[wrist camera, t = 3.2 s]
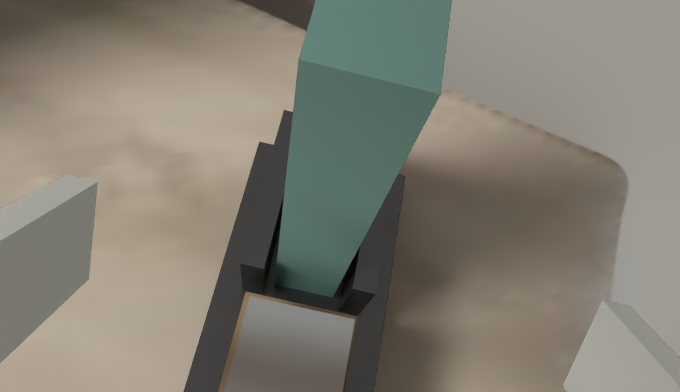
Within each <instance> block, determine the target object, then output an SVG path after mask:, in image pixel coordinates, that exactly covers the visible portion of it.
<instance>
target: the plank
mask: <svg viewBox="0 0 680 392" xmlns="http://www.w3.org/2000/svg"><path fill="white" fill-rule="evenodd" d="M451 3H452V0H316V1H315V5H314V8H313V12H312V15H311V19H310V22H309V26H308V29H307V33H306V36H305V40H304V43H303V47H302V50H301V54H300V57H299V62H298V71H297V81H296V90H295V99H294V108H293V117H292V127H291V136H290V145H289V154H288V163H287V173H286V182H285V191H284V200H283V209H282V219H281V228H280V237H279V246H278V255H277V265H276V274H275V283H274V285H278V286H282V287H287V288H291V289H296V290H300V291H305V292H309V293H314V294H318V295H323V296H327V297H333V295H334V294H335V292H336V290H337V288H338V286H339V284H340V282H341V280H342V279H343V277H344V275H345V273H346V271H347V269H348V267H349V265H350V263H351V262H352V260H353V258H354V256H355V254H356V252H357V250H358V248H359V247H360V245H361V243H362V241H363V239H364V237H365V235H366V233H367V232H368V230H369V228H370V226H371V224H372V222H373V220H374V218H375V216H376V215H377V213H378V211H379V209H380V207H381V205H382V203H383V201H384V200H385V198H386V196H387V194H388V192H389V190H390V188H391V186H392V185H393V183H394V181H395V179H396V177H397V175H398V173H399V171H400V170H401V168H402V166H403V164H404V162H405V160H406V158H407V156H408V154H409V153H410V151H411V149H412V147H413V145H414V143H415V141H416V139H417V138H418V136H419V134H420V132H421V130H422V128H423V126H424V124H425V123H426V121H427V119H428V117H429V115H430V113H431V111H432V109H433V107H434V106H435V104H436V102H437V100H438V98H439V96H440V94H441V86H442V77H443V69H444V61H445V53H446V45H447V36H448V28H449V20H450V11H451Z"/></svg>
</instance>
